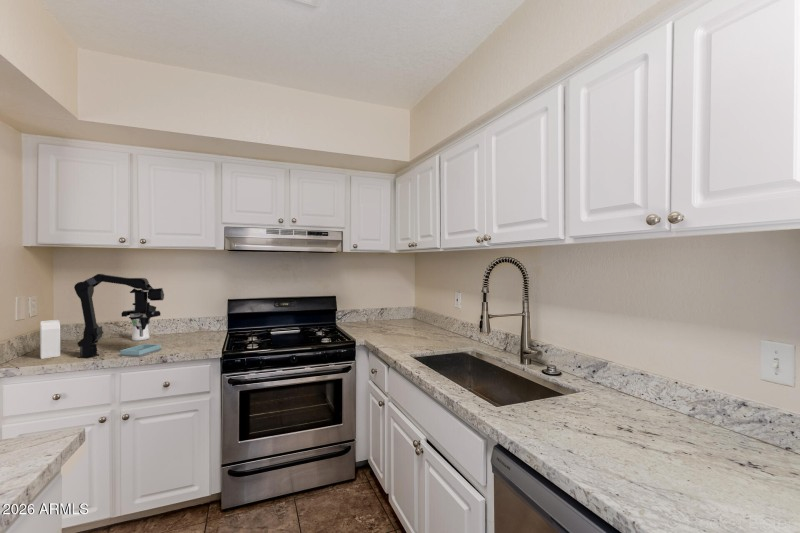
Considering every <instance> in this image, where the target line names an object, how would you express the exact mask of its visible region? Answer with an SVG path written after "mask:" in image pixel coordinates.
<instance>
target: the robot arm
mask: <svg viewBox="0 0 800 533" xmlns="http://www.w3.org/2000/svg"><path fill="white" fill-rule="evenodd" d="M102 282H103V283H110V284H116V285H124V286H128V287H131V288H133V289H132V290H129V293H130V294H134V303H132V306H135V310H133V309H132V310H131V309H129V310H123V311H122V312H121V317H128V316H129V317H128V319H130V320H131V321H132V320H134V319H139V318H140V320H141V325H142V329H143V330H144V329H145V327H146V325H147V323H148V321H149V319H151V318H155V317H159V316H160V317H161V311H160V310H157V306H154V305H151V303H150V302H149V301H151V302H153V301H154V302H155V301H164V299H165V293H164V290H163V289H164V288H163V287H160V288H159V287H158V288H153V287H152V285H151V284H150V283H149V279H148V278H145V277H124V276H117V275H110V274H105V273H97V274H95V275H93V276H92V277H90V278H87V279H86V280H84V281H79V282H77V283H75V284H74V286H73V288H74V292H75V294H76V296H77V297H78V298H79V300H80V303H81V310H82V314H83V315H82V316H83V320H84V328H83V333H82V334H83V335H82V336H83V337H82V339H80V340H79V341H78V342H77V346H78V347H79V355H78V356H77V358H78V359H81V358H82V359H83V358H84V359H89V358H93V357H96V356H99V355H100V354H99V353H98V347H97V343H98V342H99V340H101V338H102V337H103V334H104V331H103V326H102V325H101V326H99V325H98V323H97V318H96V313H95V307H94V300H93V296H94V291H95V287H97V286H98V285H100V284H101V283H102ZM148 300H149V301H148ZM139 315H143V317H142V316H139ZM136 328H137V329H138V328H139V326H136Z"/></svg>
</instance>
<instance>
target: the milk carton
mask: <svg viewBox="0 0 800 533" xmlns="http://www.w3.org/2000/svg"><path fill="white" fill-rule="evenodd" d="M39 357H40V359H41V360H42V359H43V360H45V359H50V358H57V357H61V324H60V319H52V320H51V319H50V320H41V321H40V327H39Z"/></svg>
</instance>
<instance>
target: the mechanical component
mask: <svg viewBox="0 0 800 533" xmlns="http://www.w3.org/2000/svg"><path fill="white" fill-rule="evenodd" d="M150 319H151V318H150ZM150 319H149V321H148V323H147V324H150V323H151V322H150V321H151V320H150ZM131 322H132V323H131V324H132V327H133V326H139V328H138V329H139V330H140V337H143V329H142V325H141V320H140V318H139V319H134V320H131Z"/></svg>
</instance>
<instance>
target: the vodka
mask: <svg viewBox="0 0 800 533" xmlns="http://www.w3.org/2000/svg"><path fill="white" fill-rule="evenodd" d="M132 310H135V305H133V307H132ZM139 316H142V317H143V315H139ZM149 324H150V323H149ZM149 324H147V325H146V327H145V329H144V330H143V337H140V330H139V329H137V328H136V326H133V325H132V335H131V340H132V341H133V342H143V341H148V340H149V339H150V333H149V332H150V329H149ZM142 340H143V341H142Z"/></svg>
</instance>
